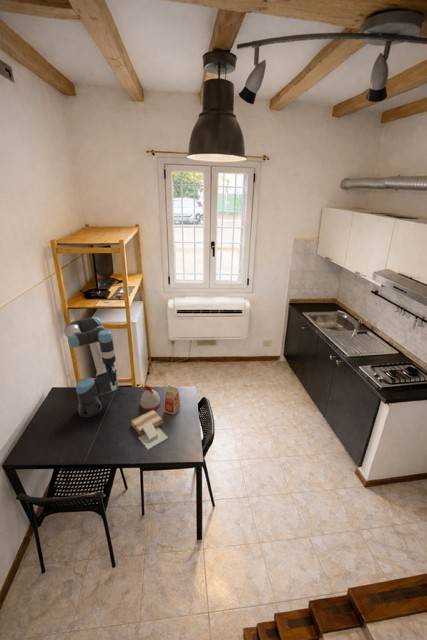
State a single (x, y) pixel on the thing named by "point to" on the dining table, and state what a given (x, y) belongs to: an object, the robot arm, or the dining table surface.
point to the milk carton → (172, 400)
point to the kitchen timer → (150, 399)
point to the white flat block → (150, 431)
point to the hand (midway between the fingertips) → (113, 388)
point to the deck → (146, 421)
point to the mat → (153, 441)
